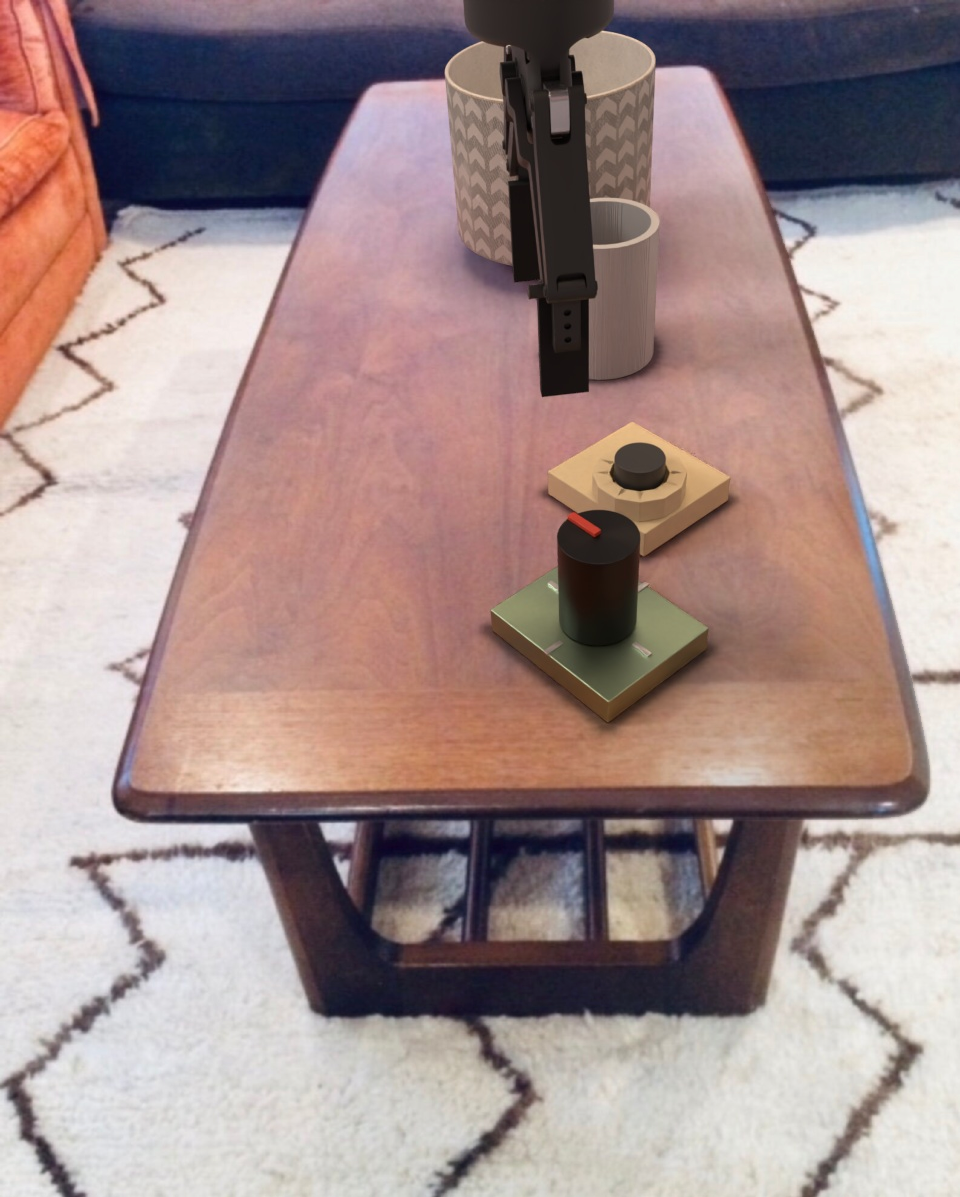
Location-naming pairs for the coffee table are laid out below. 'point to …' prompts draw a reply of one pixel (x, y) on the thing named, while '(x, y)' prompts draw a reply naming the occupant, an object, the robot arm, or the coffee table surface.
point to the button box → (653, 511)
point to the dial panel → (607, 670)
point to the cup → (622, 287)
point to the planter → (612, 127)
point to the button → (639, 466)
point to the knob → (598, 576)
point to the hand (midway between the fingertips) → (548, 331)
